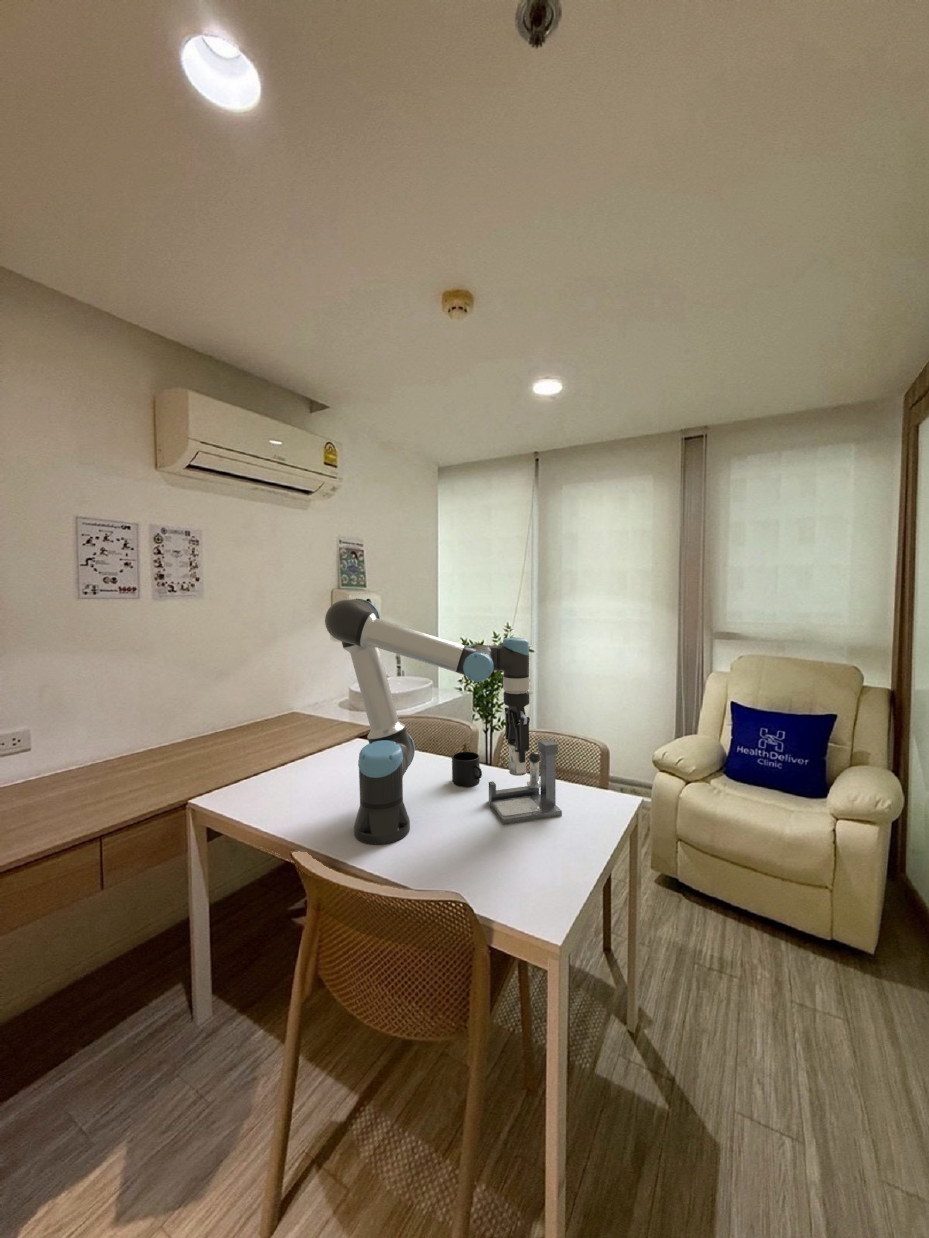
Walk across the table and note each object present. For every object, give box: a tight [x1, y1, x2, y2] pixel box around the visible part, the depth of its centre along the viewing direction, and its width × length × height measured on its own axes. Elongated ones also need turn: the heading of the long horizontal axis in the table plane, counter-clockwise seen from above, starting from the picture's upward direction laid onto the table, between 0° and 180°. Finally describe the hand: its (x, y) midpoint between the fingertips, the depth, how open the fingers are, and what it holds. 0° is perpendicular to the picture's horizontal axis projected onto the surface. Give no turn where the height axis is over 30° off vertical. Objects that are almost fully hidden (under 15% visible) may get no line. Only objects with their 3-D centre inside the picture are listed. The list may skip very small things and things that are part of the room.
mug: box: [451, 751, 483, 788], centre depth 164 cm, size 9×12×9 cm
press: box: [488, 738, 563, 826], centre depth 144 cm, size 18×16×20 cm
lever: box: [526, 751, 541, 789], centre depth 153 cm, size 4×4×11 cm
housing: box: [508, 740, 527, 777], centre depth 141 cm, size 5×5×10 cm
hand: (517, 768), depth 141 cm, fingers closed on housing, 5 cm apart
